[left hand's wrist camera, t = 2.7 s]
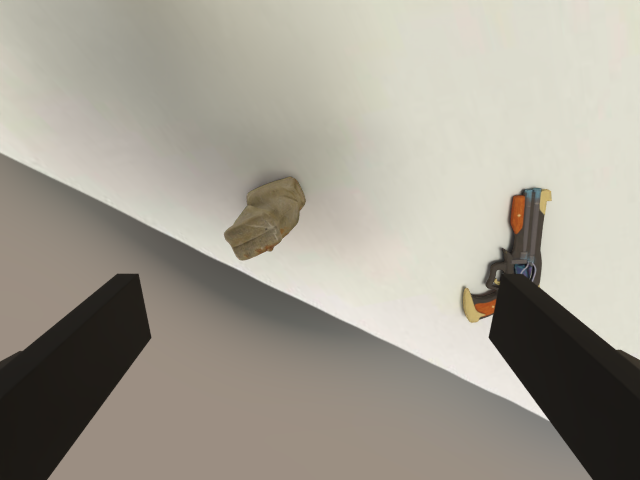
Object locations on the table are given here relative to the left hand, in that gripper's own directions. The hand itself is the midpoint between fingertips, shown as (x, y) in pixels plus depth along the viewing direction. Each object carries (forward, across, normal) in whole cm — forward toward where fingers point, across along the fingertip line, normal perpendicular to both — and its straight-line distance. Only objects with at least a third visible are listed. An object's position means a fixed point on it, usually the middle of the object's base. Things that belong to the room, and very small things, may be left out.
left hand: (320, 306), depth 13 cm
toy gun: (+34, +25, -12) cm, 44 cm away
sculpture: (+34, -6, -4) cm, 35 cm away
